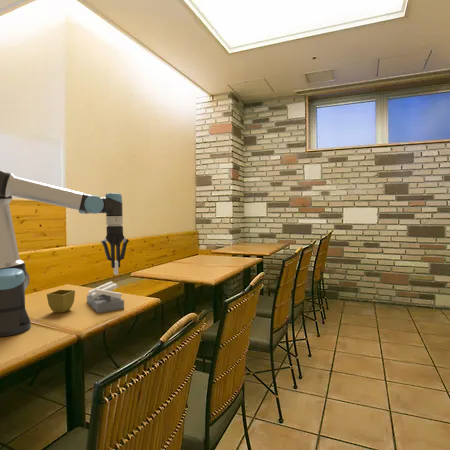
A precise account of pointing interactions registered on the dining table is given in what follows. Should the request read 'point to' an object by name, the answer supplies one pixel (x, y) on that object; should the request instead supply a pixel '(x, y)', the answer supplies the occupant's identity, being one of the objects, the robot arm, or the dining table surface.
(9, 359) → the dining table surface
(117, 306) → the switch panel
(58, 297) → the flower pot
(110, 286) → the bar
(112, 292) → the bar
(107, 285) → the bar
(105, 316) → the dining table surface
